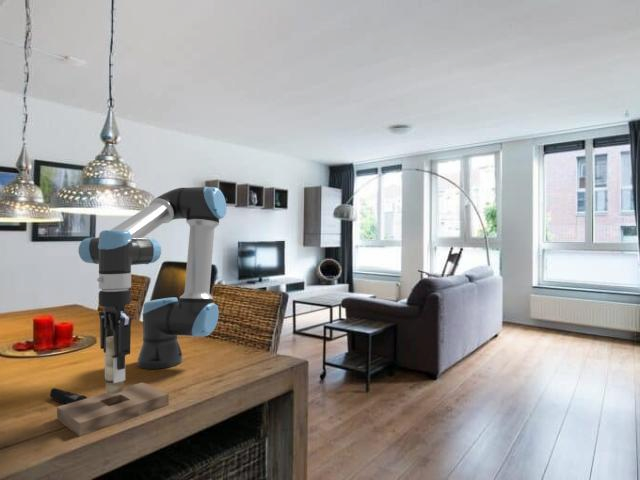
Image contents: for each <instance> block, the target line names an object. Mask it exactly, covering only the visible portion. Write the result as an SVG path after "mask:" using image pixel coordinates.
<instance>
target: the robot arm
mask: <svg viewBox="0 0 640 480" xmlns="http://www.w3.org/2000/svg"><path fill="white" fill-rule="evenodd" d="M226 202H227V201H226V198H225V196H224V194H223V192H222V190H221V189H219V188H218V187H215V186H199V187H196V186H195V187H178V188H175V189H171V190H168V191H167V192H164V193H163V194H160V195H158V196H157V197H155V198H154V199H152V200H151V201H150V203H149V204H148V206H147V207H145V208H143V209H142V210H140V211H139V212H137V213H136V214H134V215H132V216H130V217H129V218H128V219H126V220H124V221H122V222H121V223H119V224H118V225H117V226H115V227H113V228H111V229H110V230H102V231H100V233H99V235H98V237H95V236H94V237H93V236H92V237H87V238H84V239H83V240H82V241H81V242H80V243H79V246H78V250H77V251H78V255H79V258H80V259H81V260H82V261H83V262H84V263H87V264H94V265H98V278H97V279H96V281H97V282H98V289H99V292H98V305H99V306H100V307H104V309H103V311H99V313H98V317H99V325H100V326H99V328H100V329H99V338H100V339H99V340H100V341H99V342H100V343H99V344H100V345H99V346H100V350H102V351H103V353H104V379H106V337H108V336H113V338H114V348H115V355H114V356H112V357H113V383H117V382H120V381H123V382H124V381H126V356H127V355H131V333H132V332H131V328H132V327H131V326H132V322H133V321H132V320H133V317H132V316H131V315H129V316H128V315H127V311H126V306H127V305H130V304H131V303H132V290H131V289H130V288H131V287H132V266H135V265H149V264H153V263H156V262H157V261H158V260H159V259H160V257H161V255H162V246H161V245H160V243H159V241H158V240H156V239H154V238H151V237H150V238H149V237H146V236H147V235H149V234H151V233H152V232H153V231H155V230H156V229H157V228H158V227H160V226H161V225H163V224H168V223H170V222H172V221H175V220H180V219H181V220H183V219H185V223H186V224H188V226H189V234H188V235H189V236H188V245H187V248H188V249H187V258H186V259H187V261H186V271H185V281H184V283H185V284H184V292H183V294H182V295H180V296H179V299H178V297H173V296H172V297H165V298H159V299H153V300H149V301H145V302H144V304H143V307H142V308H143V309H142V314H141V316H142V345H141V348H140V351H139V353H138V357H137V366H138V367H139V368H142V369H145V370H159V369H166V368H170V367H171V368H172V367H174V366H177V365H179V364H181V363H182V362H183V352H182V348H181V346H180V344H179V341H178V336H184V337H194V338H196V337H198V338H199V337H207V336H210V335H211V334H212V333H213V331H214V330H215V328H216V327H217V324H218V320H219V316H220V315H219V314H220V311H219V306H218V305H217V304H216V303H214V297H213V296H212V295H211V293H210V290H211V280H212V279H211V276H212V266H213V265H212V264H213V262H212V261H213V253H214V252H213V251H214V250H213V249H214V238H215V236H214V235H215V229H216V228H217V227H218V226H219V225H220V219H224V218H225V216H226V214H227V203H226Z"/></svg>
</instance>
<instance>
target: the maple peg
mask: <svg viewBox="0 0 640 480" xmlns="http://www.w3.org/2000/svg"><path fill="white" fill-rule="evenodd" d="M114 355H115V348H114V338H113V336H108V337H106V379H105V378H104V379H105V393H108V394H114V393H119V392H121V391H123V388H124V381H120V382H117V383H113V357H112V356H114Z"/></svg>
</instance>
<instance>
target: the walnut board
mask: <svg viewBox="0 0 640 480" xmlns="http://www.w3.org/2000/svg"><path fill="white" fill-rule="evenodd" d="M169 398H170V397H169V393H167V392H165V391H163V390H161V389H159V388H157V387H154V386H152V385H150V384H147V383H145V382H139V383H138V382H137V383H135V384H132V385H128V386H125V387H124V386H123V391H121V392H119V393H114V394H108V393H106V392H104V393H99V394H97V395H93V396H90V397H87V398H86V399H83V400H79V401H76V402H73V403H69V404H67V403H65V404H62V405H59V406H57V407H56V419H57V421H59V422H60V423H62V424H63V425H64V426H65V427H67V428H68V429H69V430H70V431H72V432H73V433H74V434H76V435H77V436H78V437H82V436H85V435H88V434H90V433H91V434H92V433H94V432H96V431H99V430H102V429H105V428H107V427H110V426H113V425H116V424H119V423H121V422H124V421H127V420H130V419H132V418H133V419H134V418H136V417H139V416H141V415H144V414H147V413H150V412H153V411H155V410H156V411H157V410H158V409H162V408H164V407H167V406H169V405H170V404H169Z"/></svg>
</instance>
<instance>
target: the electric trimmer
mask: <svg viewBox="0 0 640 480" xmlns="http://www.w3.org/2000/svg"><path fill="white" fill-rule="evenodd" d="M49 393H50V394H49V396H50V398H52V399H53V400H55V401H56V402H58V403H59V404H69V403H73V402H76V401H79V400H83V399H86V398H88V397H87V396H86V395H80V394H78V393H77V394H76V393H73V392H70V391H66V390H62V389H59V388H56V387H53V388H52V389H51V390H50V392H49Z"/></svg>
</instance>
